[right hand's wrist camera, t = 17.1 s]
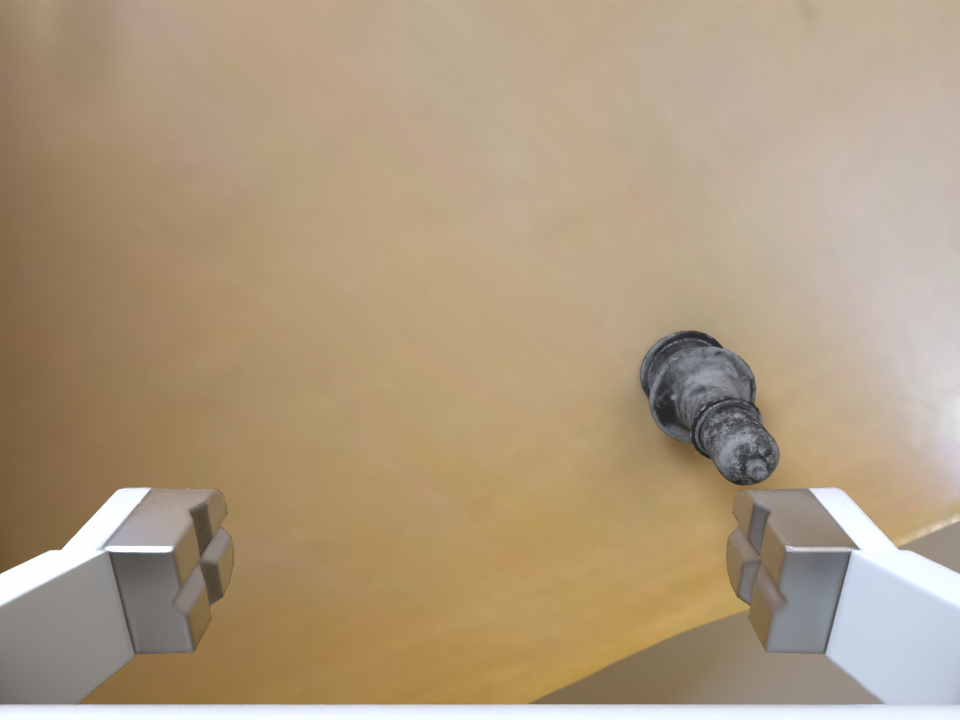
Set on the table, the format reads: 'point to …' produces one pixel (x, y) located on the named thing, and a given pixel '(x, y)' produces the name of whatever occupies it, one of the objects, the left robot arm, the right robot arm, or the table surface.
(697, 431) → the grey chess piece
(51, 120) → the table surface
